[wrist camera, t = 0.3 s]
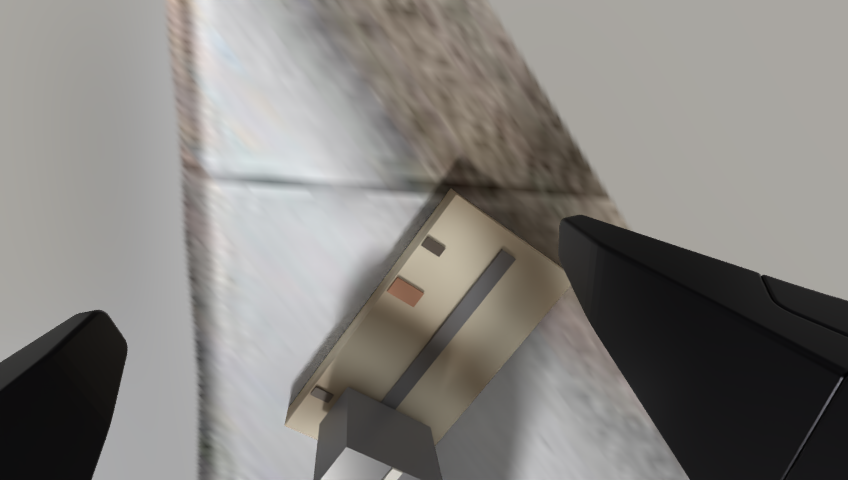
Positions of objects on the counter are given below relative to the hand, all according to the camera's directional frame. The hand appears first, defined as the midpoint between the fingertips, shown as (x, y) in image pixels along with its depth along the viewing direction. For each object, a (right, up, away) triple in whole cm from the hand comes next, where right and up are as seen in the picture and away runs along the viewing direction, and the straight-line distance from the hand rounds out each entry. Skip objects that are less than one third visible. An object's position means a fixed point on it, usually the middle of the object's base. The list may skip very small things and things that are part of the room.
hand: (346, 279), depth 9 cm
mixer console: (+2, -5, +18) cm, 19 cm away
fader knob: (-1, -10, +18) cm, 20 cm away
